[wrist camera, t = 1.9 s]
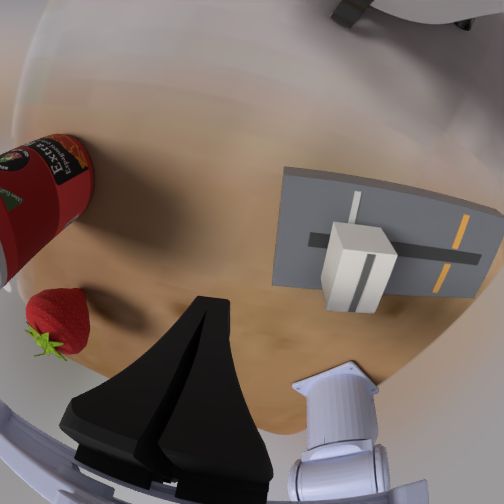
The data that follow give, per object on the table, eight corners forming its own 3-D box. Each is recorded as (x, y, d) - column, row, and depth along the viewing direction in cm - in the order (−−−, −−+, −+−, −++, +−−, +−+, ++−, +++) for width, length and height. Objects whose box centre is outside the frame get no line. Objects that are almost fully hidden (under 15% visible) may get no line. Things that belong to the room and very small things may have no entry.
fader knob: (376, 220, 16) (398, 256, 12) (360, 272, 18) (374, 314, 14) (330, 214, 16) (343, 250, 12) (319, 268, 18) (326, 311, 15)
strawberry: (57, 253, 23) (-1, 317, 15) (114, 291, 25) (65, 369, 16) (55, 288, 26) (9, 347, 18) (105, 321, 28) (66, 390, 19)
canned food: (106, 146, 17) (-10, 209, 8) (89, 230, 21) (11, 314, 12) (43, 121, 16) (-60, 165, 6) (34, 199, 20) (-44, 261, 11)
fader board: (496, 209, 16) (510, 220, 14) (465, 284, 20) (474, 298, 18) (284, 166, 17) (284, 175, 15) (272, 269, 21) (271, 286, 19)
